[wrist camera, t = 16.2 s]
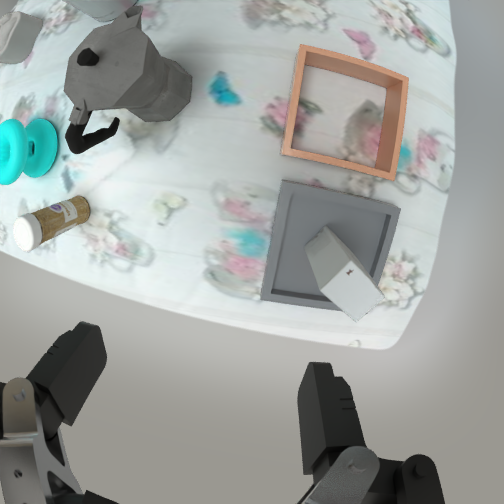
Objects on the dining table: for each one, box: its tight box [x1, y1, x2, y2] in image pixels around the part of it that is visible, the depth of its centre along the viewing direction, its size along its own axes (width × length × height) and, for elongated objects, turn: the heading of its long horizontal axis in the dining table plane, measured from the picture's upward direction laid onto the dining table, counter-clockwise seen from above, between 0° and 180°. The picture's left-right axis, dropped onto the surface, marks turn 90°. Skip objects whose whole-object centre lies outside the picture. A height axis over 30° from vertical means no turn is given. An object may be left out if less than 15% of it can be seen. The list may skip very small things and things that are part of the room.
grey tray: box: [260, 180, 401, 314], centre depth 36 cm, size 16×16×2 cm
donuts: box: [0, 119, 57, 185], centre depth 29 cm, size 10×10×10 cm
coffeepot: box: [64, 6, 192, 154], centre depth 22 cm, size 15×9×18 cm, turn 153°
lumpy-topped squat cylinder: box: [0, 11, 43, 64], centre depth 21 cm, size 10×13×9 cm
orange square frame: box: [280, 44, 409, 181], centre depth 28 cm, size 14×14×5 cm
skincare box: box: [304, 226, 385, 322], centre depth 30 cm, size 6×4×12 cm
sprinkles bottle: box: [13, 196, 90, 252], centre depth 30 cm, size 5×5×13 cm
